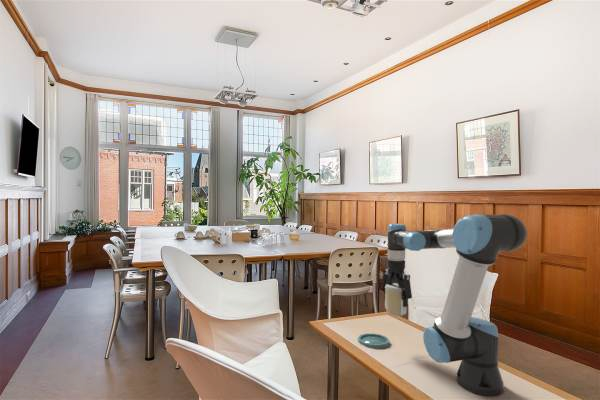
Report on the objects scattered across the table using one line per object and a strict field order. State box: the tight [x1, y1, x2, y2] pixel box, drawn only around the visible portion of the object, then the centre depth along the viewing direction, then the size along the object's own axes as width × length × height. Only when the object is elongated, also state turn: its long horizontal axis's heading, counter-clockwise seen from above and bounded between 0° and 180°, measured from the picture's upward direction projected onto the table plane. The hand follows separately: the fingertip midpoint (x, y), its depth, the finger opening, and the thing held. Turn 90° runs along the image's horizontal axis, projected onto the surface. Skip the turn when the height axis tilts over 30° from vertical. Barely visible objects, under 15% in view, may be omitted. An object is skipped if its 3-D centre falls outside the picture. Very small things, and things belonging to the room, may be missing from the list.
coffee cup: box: [385, 282, 405, 317], centre depth 158 cm, size 9×9×12 cm
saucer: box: [357, 332, 390, 349], centre depth 165 cm, size 14×14×2 cm
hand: (395, 310), depth 159 cm, fingers closed on coffee cup, 8 cm apart
